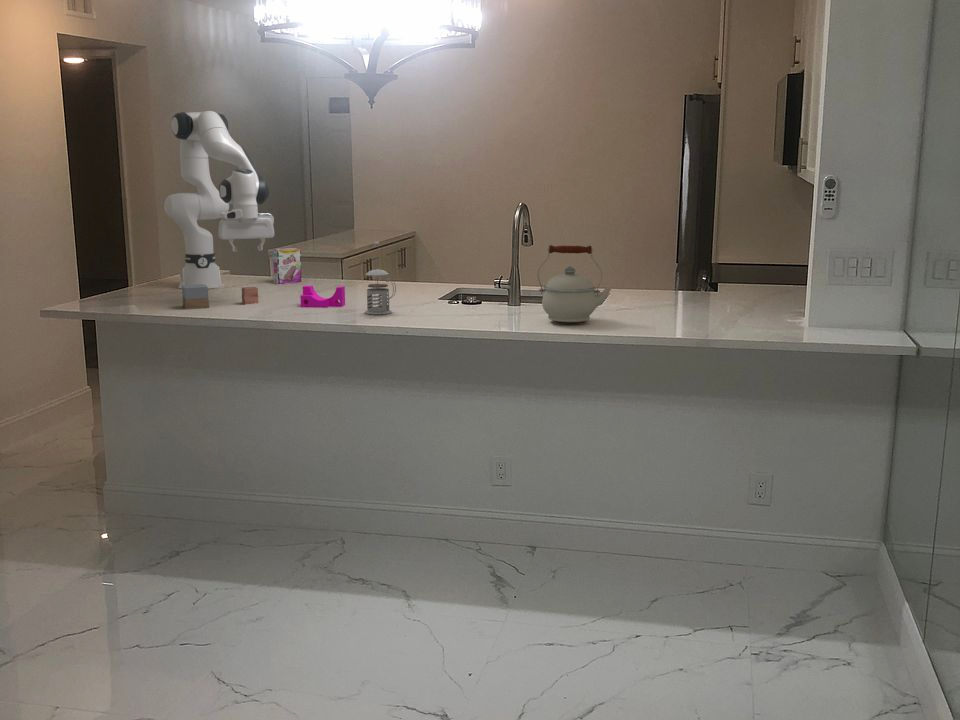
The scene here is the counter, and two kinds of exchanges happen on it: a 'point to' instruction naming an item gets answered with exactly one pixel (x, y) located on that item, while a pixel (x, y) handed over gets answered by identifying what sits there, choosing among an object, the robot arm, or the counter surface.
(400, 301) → the counter surface
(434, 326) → the counter surface
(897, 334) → the counter surface
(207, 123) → the robot arm
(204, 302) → the tower base
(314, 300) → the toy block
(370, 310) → the french press
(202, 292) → the tower middle
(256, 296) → the reddish brown cube
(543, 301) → the kettle
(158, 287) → the counter surface
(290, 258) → the candy bar box
